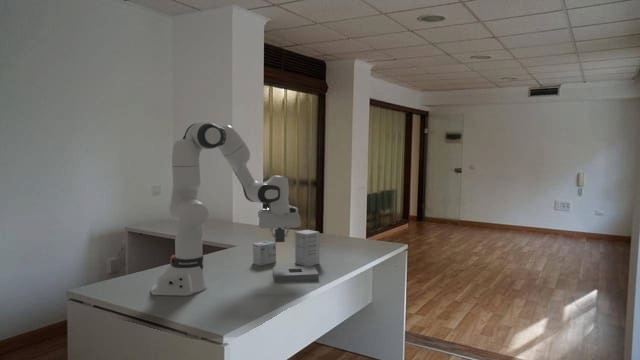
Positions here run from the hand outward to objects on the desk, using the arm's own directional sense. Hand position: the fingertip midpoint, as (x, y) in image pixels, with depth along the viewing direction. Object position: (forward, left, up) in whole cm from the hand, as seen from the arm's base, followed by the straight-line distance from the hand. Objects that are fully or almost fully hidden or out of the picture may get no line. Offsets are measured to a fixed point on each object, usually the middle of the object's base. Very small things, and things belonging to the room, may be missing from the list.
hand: (279, 236), depth 216 cm
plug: (0, 0, -2) cm, 2 cm away
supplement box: (+16, +12, -17) cm, 26 cm away
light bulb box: (-6, +16, -17) cm, 25 cm away
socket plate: (+6, -10, -17) cm, 21 cm away
